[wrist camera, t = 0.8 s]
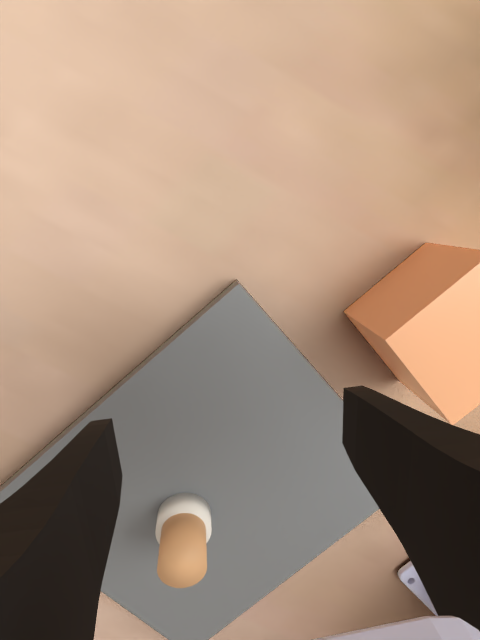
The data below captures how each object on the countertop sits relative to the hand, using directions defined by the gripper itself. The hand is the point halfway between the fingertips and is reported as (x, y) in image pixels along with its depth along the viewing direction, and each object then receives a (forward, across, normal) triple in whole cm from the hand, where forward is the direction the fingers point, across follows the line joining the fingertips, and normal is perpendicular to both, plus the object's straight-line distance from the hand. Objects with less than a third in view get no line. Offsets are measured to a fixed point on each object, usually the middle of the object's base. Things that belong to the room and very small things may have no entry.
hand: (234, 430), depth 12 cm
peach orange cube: (+9, -11, 0) cm, 14 cm away
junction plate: (+9, +1, +9) cm, 13 cm away
